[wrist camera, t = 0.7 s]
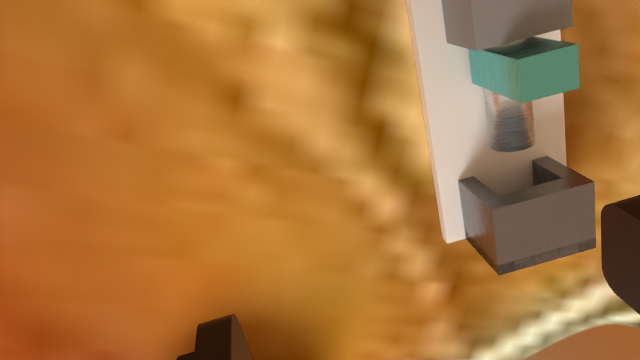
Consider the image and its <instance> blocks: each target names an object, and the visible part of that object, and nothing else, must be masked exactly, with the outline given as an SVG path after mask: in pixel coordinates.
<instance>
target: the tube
mask: <svg viewBox="0 0 640 360" xmlns="http://www.w3.org/2000/svg"><path fill="white" fill-rule="evenodd" d="M468 52H469V60H470V69H471V78H472V83H473V84H475V85H478V86H480V87H482V88H483V93H484V103H485V112H486V122H487V131H488V140H489V147H490V149H492V150H494V151H498V152H516V151H521V150H525V149H528V148H530V147H532V146H533V145H534V144H535V130H534V115H533V100H537V99H541V98H544V97H548V96H552V95H556V94H559V93H563V92H567V91H571V90H574V89H578V88H580V84H579V55H578V44H575V43H570V42H564V41H558V40H552V39H546V38H540V37H534V36H533V37H529V38H525V39H521V40H517V41H513V42H510V43H506V44H502V45H498V46H494V47H490V48H486V49H483V50H479V51H474V50H470V49H468Z"/></svg>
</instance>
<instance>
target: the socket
mask: <svg viewBox="0 0 640 360" xmlns="http://www.w3.org/2000/svg"><path fill="white" fill-rule="evenodd" d="M532 168H533V182H534V186H532V187H528V188H525V189H521V190H518V191H514V192H510V193H507V194H503V195H500V196H497V195H496V194H495V193H494V192H492V191H491V190H490V189H489V188H487V187H486V186H485V185H484V184H483V183H481V182H480V181H479V180H478V179H476V178H475V177H474V176H472V177H468V178H464V179H461V180H458V185H459V192H460V200H461V207H462V214H463V222H464V229H465V237H466V239H467V240H468V241H469V243H470V244H471V245H472V246H473V247H474V248H475V249H476V250H477V251H478V253H479V254H480V255H481V256H482V257H483V258H484V259H485V260H486V261H487V263H488V264H489V265H490V266H491V267H492V268H493V269H494V270H495V271H496V273H497V274H498V275H502V274H506V273H509V272H513V271H516V270H520V269H523V268H527V267H530V266H534V265H537V264H541V263H544V262H548V261H551V260H555V259H558V258H562V257H565V256H569V255H572V254H576V253H579V252H583V251H586V250H590V249H593V248H596V231H595V190H594V181H592V180H590V179H588V178H586V177H585V176H583V175H581V174H579V173H577V172H576V171H574V170H572V169H570V168H568V167H566V166H565V165H563V164H561V163H559V162H557V161H556V160H554V159H552V158H550V157H548V156H545V157H541V158H537V159H534V160H532Z"/></svg>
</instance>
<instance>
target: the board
mask: <svg viewBox="0 0 640 360" xmlns="http://www.w3.org/2000/svg"><path fill="white" fill-rule="evenodd" d="M406 4H407V11H408V17H409V24H410V30H411V37H412V43H413V49H414V56H415V62H416V69H417V75H418V82H419V88H420V95H421V101H422V108H423V114H424V121H425V127H426V134H427V140H428V147H429V153H430V160H431V166H432V173H433V179H434V186H435V192H436V198H437V205H438V211H439V218H440V224H441V231H442V237H443V239H444V240H445V241H446V243H447V244H448V243H451V242H455V241H458V240H462V239H465V238H466V237H465V229H464V222H463V214H462V207H461V200H460V192H459V185H458V180H461V179H464V178H468V177H472V176H474V177H475V178H476V179H478V180H479V181H480V182H481V183H483V184H484V185H485V186H486V187H487V188H489V189H490V190H491V191H492V192H494V193H495V194H496V195H497V196H500V195H503V194H507V193H510V192H514V191H518V190H521V189H525V188H528V187H532V186H534V182H533V168H532V160H534V159H537V158H541V157H545V156H548V157H550V158H552V159H554V160H556V161H557V162H559V163H561V164H563V165H565V166H566V167H567V163H566V141H565V120H564V98H563V93H559V94H556V95H552V96H548V97H544V98H541V99H537V100H533V115H534V130H535V144H534V145H533V146H532V147H530V148H528V149H525V150H521V151H516V152H498V151H494V150H492V149H490V147H489V140H488V131H487V122H486V112H485V103H484V93H483V88H482V87H480V86H478V85H475V84H473V83H472V78H471V69H470V60H469V52H468V49H470V50H474V51H479V50H483V49H486V48H490V47H494V46H498V45H502V44H506V43H510V42H513V41H517V40H521V39H525V38H529V37H533V36H534V37H540V38H546V39H552V40H558V41H561V33H560V29H563V28H567V27H571V26H573V17H572V0H406Z"/></svg>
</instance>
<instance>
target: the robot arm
mask: <svg viewBox="0 0 640 360" xmlns="http://www.w3.org/2000/svg"><path fill="white" fill-rule="evenodd" d="M601 249H602V270H603V274H604V276H605V279H606V281H607V283H608V285H609V286H610V288H611V289H612V290H613V292H614V293H615V294H616V295H617V296H619V297H620V298H621V299H622V300H623V301H624V302H626V303H627V304H628V305H629V306H630V307H631V308H633V309H634V310H635V311H636V312H637V313H638V314H640V195H638V196H635V197H631V198H628V199H625V200H621V201H618V202H614V203H611V204H608V205H605V206H604V207H603V209H602V212H601ZM176 360H253V358H252V355H251V352H250V350H249V347H248V345H247V342H246V339H245V337H244V334H243V332H242V329H241V326H240V324H239V321H238V319H237V317H236V316H235V314H231V315H228V316H225V317H221V318H218V319H214V320H211V321H208V322H204V323H201V324H199V325H198V327H197V335H196V344H195V352H192V353H188V354H185V355H182V356H178V358H177V359H176Z"/></svg>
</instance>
